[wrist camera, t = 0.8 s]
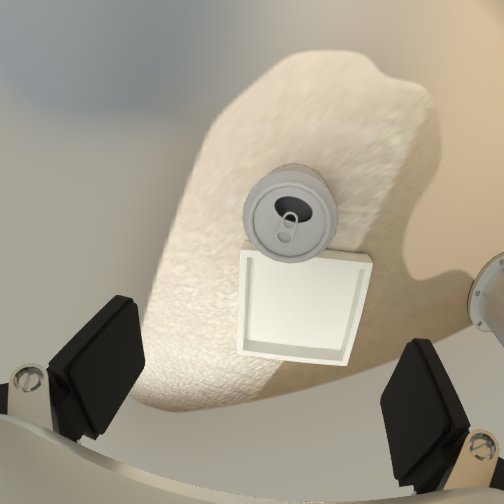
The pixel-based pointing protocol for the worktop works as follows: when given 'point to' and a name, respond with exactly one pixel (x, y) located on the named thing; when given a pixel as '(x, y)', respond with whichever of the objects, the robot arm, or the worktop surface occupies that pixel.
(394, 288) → the worktop surface
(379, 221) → the worktop surface
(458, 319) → the worktop surface
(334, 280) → the tray
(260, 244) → the can
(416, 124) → the worktop surface
